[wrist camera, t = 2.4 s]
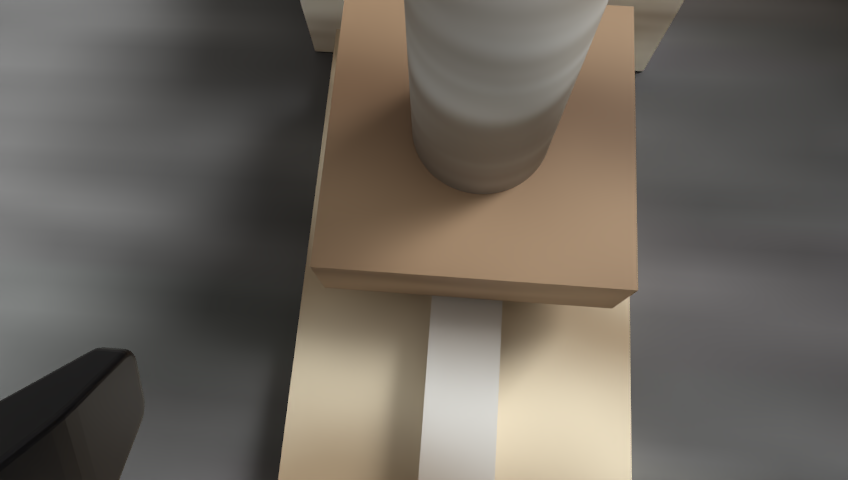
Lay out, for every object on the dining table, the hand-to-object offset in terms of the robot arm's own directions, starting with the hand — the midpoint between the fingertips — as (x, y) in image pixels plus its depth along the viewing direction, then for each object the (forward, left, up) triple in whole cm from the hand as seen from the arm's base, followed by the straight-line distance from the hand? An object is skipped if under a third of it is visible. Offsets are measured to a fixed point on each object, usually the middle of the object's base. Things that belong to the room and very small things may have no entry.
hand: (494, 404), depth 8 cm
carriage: (+2, +7, -10) cm, 12 cm away
